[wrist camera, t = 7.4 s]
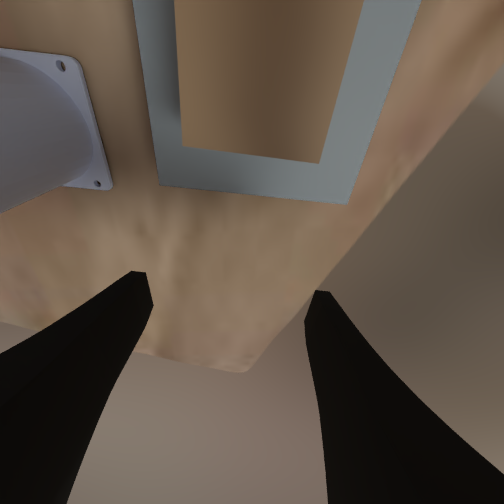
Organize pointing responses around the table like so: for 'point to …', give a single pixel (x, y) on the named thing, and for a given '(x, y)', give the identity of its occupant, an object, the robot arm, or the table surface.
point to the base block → (265, 168)
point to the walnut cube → (262, 73)
